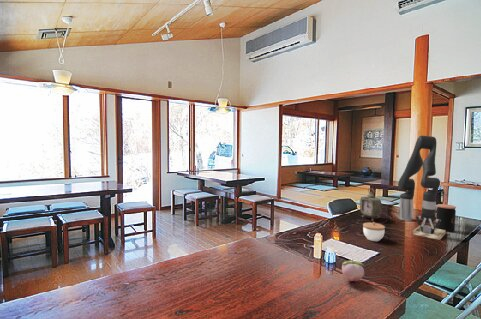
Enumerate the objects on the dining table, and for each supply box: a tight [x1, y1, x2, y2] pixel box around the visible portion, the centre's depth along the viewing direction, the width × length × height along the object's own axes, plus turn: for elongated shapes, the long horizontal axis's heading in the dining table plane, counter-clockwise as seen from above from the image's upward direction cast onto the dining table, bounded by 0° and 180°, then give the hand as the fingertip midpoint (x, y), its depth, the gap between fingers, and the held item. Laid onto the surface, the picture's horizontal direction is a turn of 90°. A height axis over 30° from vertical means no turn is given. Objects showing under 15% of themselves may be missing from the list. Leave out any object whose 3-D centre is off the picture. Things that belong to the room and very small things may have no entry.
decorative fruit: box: [341, 259, 365, 282], centre depth 121 cm, size 9×8×10 cm
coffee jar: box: [435, 203, 457, 233], centre depth 194 cm, size 11×11×18 cm
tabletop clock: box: [359, 188, 382, 222], centre depth 222 cm, size 14×9×25 cm, turn 17°
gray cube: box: [423, 224, 432, 234], centre depth 182 cm, size 4×4×5 cm
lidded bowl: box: [362, 221, 386, 242], centre depth 175 cm, size 13×13×11 cm
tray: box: [412, 225, 447, 241], centre depth 185 cm, size 15×18×3 cm
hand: (427, 232), depth 182 cm, fingers closed on gray cube, 4 cm apart
